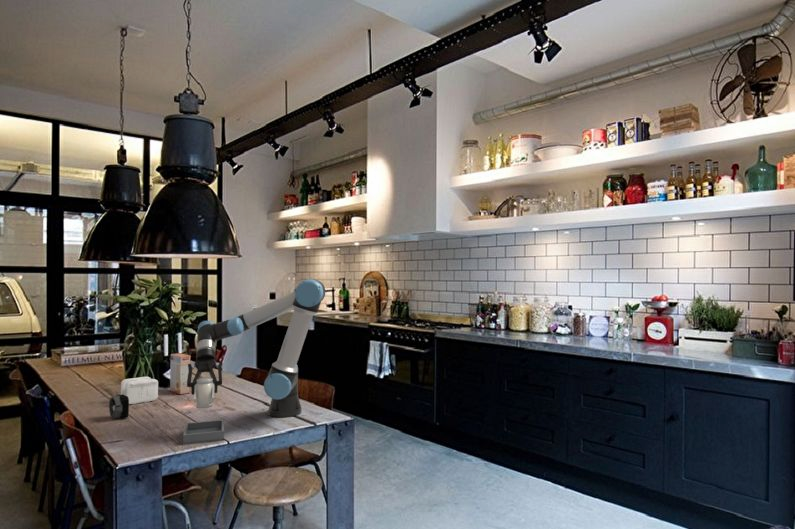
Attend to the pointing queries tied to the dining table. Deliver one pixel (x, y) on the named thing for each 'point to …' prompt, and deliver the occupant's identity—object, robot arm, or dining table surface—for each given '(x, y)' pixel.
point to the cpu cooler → (119, 406)
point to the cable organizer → (140, 389)
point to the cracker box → (179, 373)
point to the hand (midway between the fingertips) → (204, 400)
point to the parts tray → (203, 432)
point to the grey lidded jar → (204, 392)
